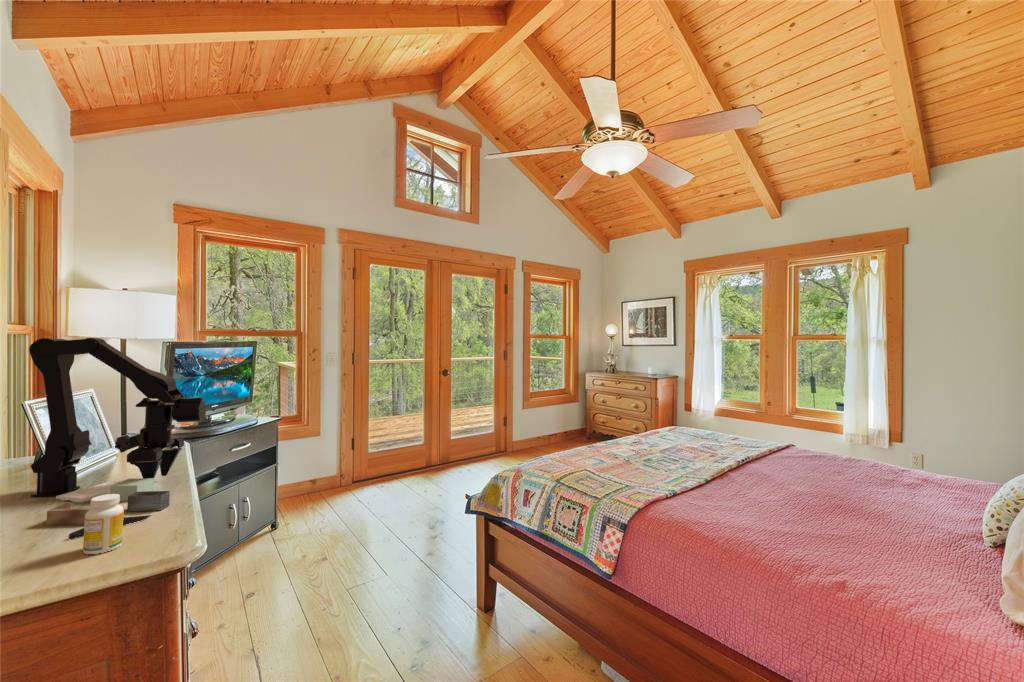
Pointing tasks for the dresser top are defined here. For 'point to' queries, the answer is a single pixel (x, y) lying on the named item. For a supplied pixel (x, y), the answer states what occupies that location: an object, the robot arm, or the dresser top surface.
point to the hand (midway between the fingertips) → (156, 480)
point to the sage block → (132, 487)
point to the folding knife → (125, 521)
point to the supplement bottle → (103, 524)
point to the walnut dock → (66, 515)
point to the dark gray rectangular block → (148, 500)
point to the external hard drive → (88, 492)
